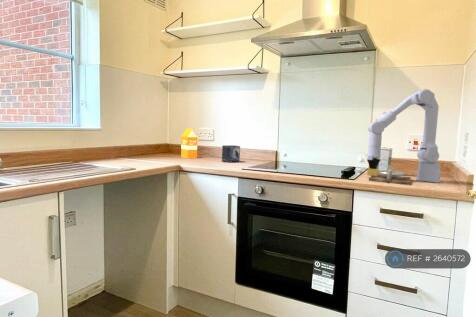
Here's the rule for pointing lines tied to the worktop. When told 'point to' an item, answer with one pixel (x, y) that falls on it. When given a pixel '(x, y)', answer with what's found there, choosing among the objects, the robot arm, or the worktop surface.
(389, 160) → the syrup box
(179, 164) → the worktop surface
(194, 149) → the orange juice
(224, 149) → the small box
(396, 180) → the post board
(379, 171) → the small silver pan
